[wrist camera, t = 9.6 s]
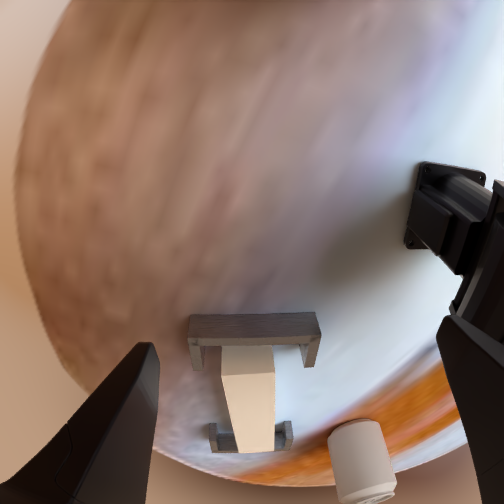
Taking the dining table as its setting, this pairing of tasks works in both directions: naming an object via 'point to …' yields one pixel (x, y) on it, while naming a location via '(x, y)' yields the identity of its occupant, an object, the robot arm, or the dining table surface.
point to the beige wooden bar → (250, 395)
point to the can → (361, 463)
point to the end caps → (247, 334)
